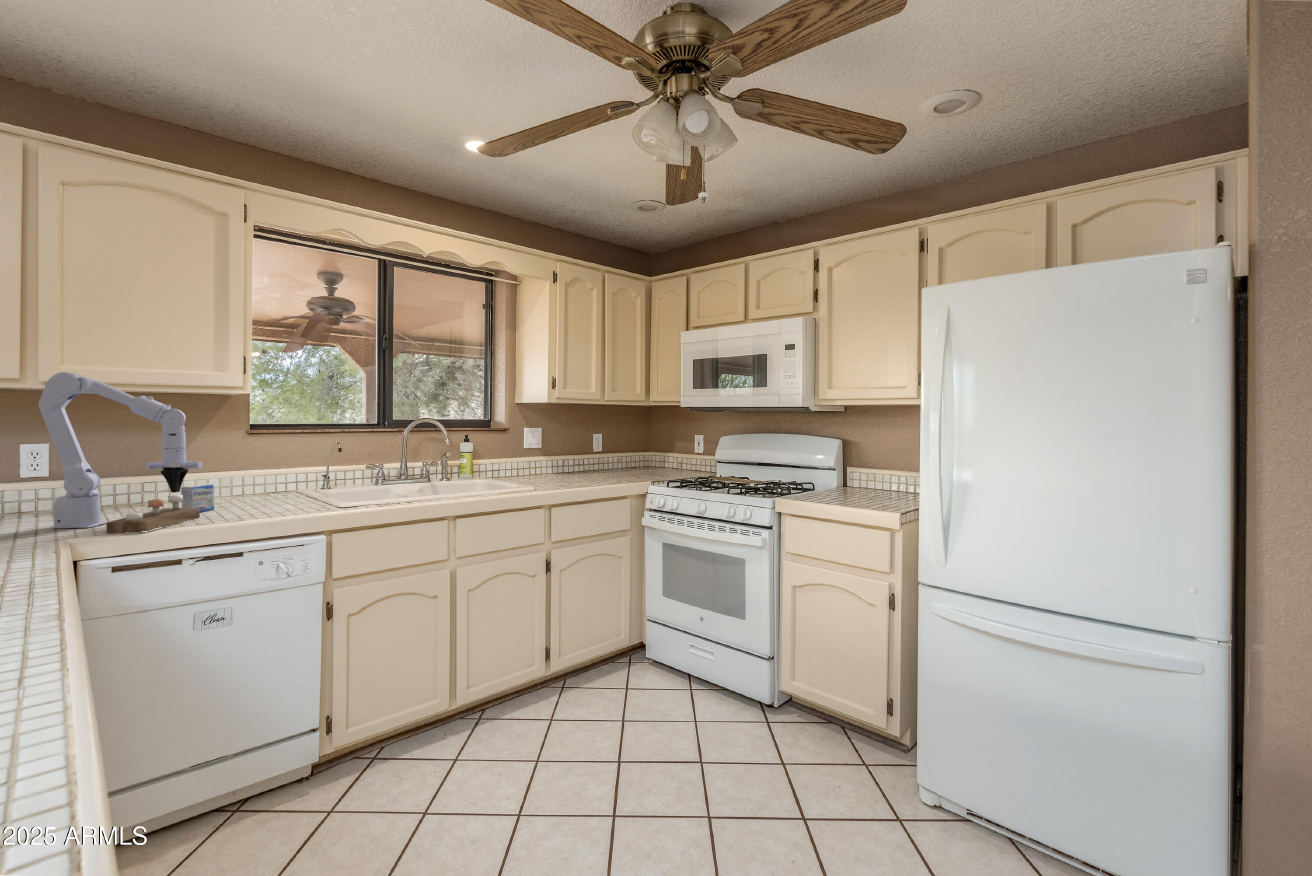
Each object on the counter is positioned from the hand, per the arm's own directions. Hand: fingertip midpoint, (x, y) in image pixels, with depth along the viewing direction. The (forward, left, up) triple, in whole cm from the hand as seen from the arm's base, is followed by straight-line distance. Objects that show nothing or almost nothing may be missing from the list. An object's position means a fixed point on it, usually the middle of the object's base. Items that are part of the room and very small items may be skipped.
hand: (175, 492), depth 187 cm
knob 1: (0, -18, -8) cm, 20 cm away
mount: (0, -9, -8) cm, 12 cm away
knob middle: (0, -9, -6) cm, 11 cm away
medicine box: (-2, +15, -9) cm, 17 cm away
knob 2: (0, 0, -6) cm, 6 cm away
